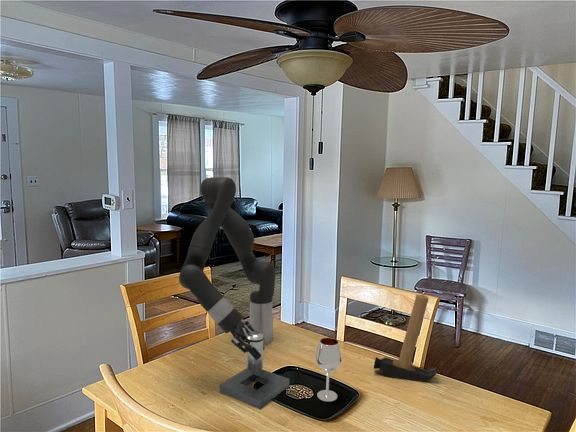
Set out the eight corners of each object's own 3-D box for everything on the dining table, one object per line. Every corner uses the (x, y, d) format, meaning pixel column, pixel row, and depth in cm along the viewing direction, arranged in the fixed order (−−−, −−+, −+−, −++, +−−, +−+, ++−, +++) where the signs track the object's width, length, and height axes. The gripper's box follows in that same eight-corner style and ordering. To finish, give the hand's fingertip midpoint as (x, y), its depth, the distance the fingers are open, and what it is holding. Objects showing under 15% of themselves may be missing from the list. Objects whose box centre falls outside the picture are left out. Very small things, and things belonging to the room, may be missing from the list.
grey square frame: (250, 372, 145) (250, 365, 145) (289, 386, 136) (289, 378, 136) (219, 392, 132) (219, 384, 131) (259, 409, 123) (260, 401, 123)
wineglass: (323, 405, 126) (325, 349, 124) (309, 392, 133) (311, 338, 131) (345, 399, 129) (347, 344, 127) (330, 386, 137) (332, 334, 135)
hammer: (430, 382, 146) (453, 302, 141) (432, 389, 141) (455, 307, 136) (373, 364, 150) (394, 286, 145) (373, 371, 145) (394, 290, 140)
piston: (253, 362, 137) (254, 329, 136) (266, 366, 134) (267, 333, 133) (243, 368, 132) (244, 334, 131) (256, 372, 130) (257, 339, 128)
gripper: (226, 315, 125) (265, 356, 125) (239, 300, 139) (273, 338, 139) (209, 330, 126) (247, 371, 126) (223, 314, 140) (257, 351, 140)
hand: (260, 353), depth 132 cm, fingers closed on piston, 5 cm apart
